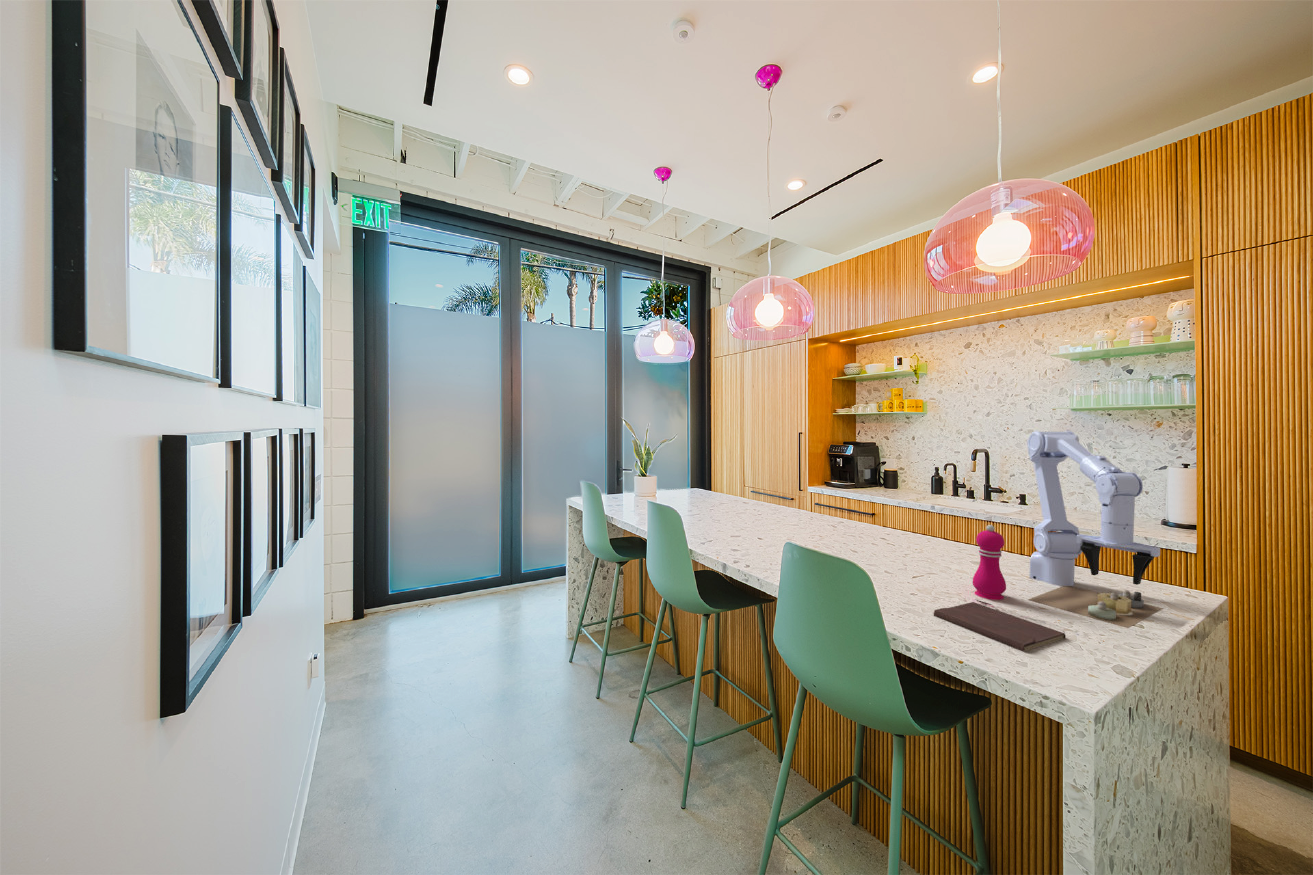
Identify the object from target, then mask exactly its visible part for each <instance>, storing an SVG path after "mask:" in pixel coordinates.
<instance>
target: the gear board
mask: <svg viewBox="0 0 1313 875" xmlns="http://www.w3.org/2000/svg"><path fill="white" fill-rule="evenodd" d="M1100 593H1101V592H1098V591H1093V590H1089V589H1085V588H1081V587H1077V586H1074V585H1073V586H1059V587H1057V588H1055V589H1053V590H1050V591H1046V592H1043V593H1042V594H1039V595H1036V596H1034V597H1031V598H1028V599H1027V601H1029V602H1033V603H1034V602H1035V603H1037V604H1041V605H1045V606H1048V607H1051V608H1055V609H1057V610H1058V609H1059V610H1061V611H1065V612H1068V613H1072V614H1077V615H1079V616H1083V617H1086V618H1090V619H1094V620H1098V621H1101V622H1104V623H1109V624H1112V625H1115V626H1119V627H1123V628H1127V629H1129V628H1131V627H1132V626H1134V625H1136V624H1137V623H1140V622H1141V621H1144V620H1145V619H1147V618H1149V617H1151V616H1152V615H1154V614H1156V613H1158V612H1160V611H1161V610H1163V609H1164V607H1159V606H1156V605H1152V604H1151V605H1150V604H1148V603H1147V604H1146V603H1145V602H1144V600H1143V599H1142V592H1141V591H1140V592H1139V591H1134V594H1133V595H1131V594H1132V593H1131V592H1130V591H1129V590H1128V589H1127V590H1126V589H1124V590H1123V591H1122V593H1117V592H1111V593H1110V594H1111V597H1110V598H1113V599H1119V595H1120V596H1124V597H1126V598H1128V599H1130V600H1131V613H1129V614H1116V611H1115V610H1113V609H1110V608H1107V607H1106V603H1105V602H1103V601H1100V602H1099V603H1098V594H1100ZM1097 605H1098V606H1097Z"/></svg>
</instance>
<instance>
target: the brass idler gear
mask: <svg viewBox="0 0 1313 875" xmlns="http://www.w3.org/2000/svg"><path fill="white" fill-rule="evenodd" d="M1099 593H1100V594H1098V603H1099V602H1100V601H1103V602H1105V603H1106V607H1107V608H1110V609H1113V610H1115V611H1116V614H1129V613H1131V600H1130V599H1128V598H1126V597H1124V596H1120V595H1119V599H1113V598H1110V597H1111V593H1107V592H1099ZM1097 606H1098V605H1097Z"/></svg>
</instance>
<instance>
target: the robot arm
mask: <svg viewBox="0 0 1313 875" xmlns="http://www.w3.org/2000/svg"><path fill="white" fill-rule="evenodd" d="M1026 445H1027V451H1028V455H1029V461H1030V462H1032V465H1033V468H1034V475H1035V480H1036V486H1037V491H1038V497H1039V503H1040V508H1041V514H1042V522H1040V523H1039V524H1037V525H1036V526H1035V527H1034V528H1033V530H1034V531H1033V532H1034V533H1033V534H1034V536H1033V545H1034V548H1035V549H1036V551H1034V552H1033V553H1032V554H1031V556H1030V558H1029V579H1032V580H1035V581H1040V582H1043V583H1047V584H1050V585H1053V586H1059V587H1062V586H1073V587H1074V585H1075V570H1076V568H1075V567H1076V566H1075V565H1076V564H1075V563H1076V559H1078V558H1079V555H1081V554H1082V553H1083V555H1084V557H1085V559H1086V561H1087V563H1088V566H1089V569H1090V574H1091V575H1092V576H1097V575H1099V572H1100V562H1099V561H1100V560H1099V559H1100V552H1101V549H1102V548H1106V549H1107V548H1108V549H1113V550H1118V551H1124V552H1130V553H1135V554H1132V562H1133V563H1132V564H1133V565H1132V566H1133V575H1132V576H1133V577H1132V584H1133V585H1136V586H1137V585H1141V583H1142V578H1143V576H1144V574H1145V572H1146V570H1147V568H1148V566H1150V564H1151V563H1152V561H1153V560H1154V558H1158V557H1160V556H1161V547H1159V546H1153V545H1149V544H1144V543H1140V542H1135V541H1134V536H1135V535H1134V532H1135V528H1134V527H1135V508H1136V507H1135V503H1136V497H1138V496H1140V495H1141V494H1142V492H1143V489H1144V488H1143V486H1144V485H1143V480H1142V479H1141V478H1140V476H1139V475H1138V474H1137V473H1135V472H1131V471H1130V472H1126V471H1123V470H1121V469H1120V467H1118V466H1116V465H1115V464H1113V463H1112V462H1111V461H1109V460H1108V458H1107V457H1106V456H1105V455H1098V454H1093V453H1091V452H1090V451H1089V450H1088V449H1087V448H1086V447H1085V446H1083V444H1081V443H1080V437H1079V435H1077V434H1075V433H1074V432H1073V431H1071V430H1066V431H1041V430H1040V431H1039V430H1034V431H1033V432H1031V433H1030V435H1029V437H1028V439H1027V441H1026ZM1068 458H1070V459H1071V460H1073V461H1074V462H1075V463H1077V464H1078V465H1079V470H1080V472H1081V473H1082V474H1083V475H1084V476H1086V477H1087V478H1088V479H1089V480H1090V481H1092V482H1093V483H1094V488H1095V490H1096V492H1097V494H1098V502H1099V503H1101V506H1100V507H1101V508H1100V510H1101V512H1100V536H1096V535H1095V536H1094V535H1089V534H1080V530H1079V528H1078V526H1076V525H1075V524H1073V523H1072V522H1070V521H1069V520H1068V517H1067V513H1066V507H1065V503H1064V497H1063V493H1062V486H1061V482H1060V477H1059V472H1058V465H1059V463H1062V462H1064V461H1065V460H1067V459H1068Z"/></svg>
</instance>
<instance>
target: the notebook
mask: <svg viewBox="0 0 1313 875" xmlns="http://www.w3.org/2000/svg"><path fill="white" fill-rule="evenodd" d="M933 616H934V617H936V618H938V619H941V620H943V621H945V622H948V623H951V624H954V625H956V626H958V627H961V628H963V629H966V630H968V631H970V632H974V633H976V634H977V635H981V636H982V637H986V638H989V639H991V640H993V641H995V642H998V643H1001V644H1003V645H1006V646H1008V647H1011V648H1013V649H1014V650H1015V649H1016V650H1018V651H1021V652H1023V653H1024V652H1026V651H1027V652H1028V651H1029V650H1033V649H1035V648H1038V647H1041V646H1045V645H1048V644H1050V643H1055V642H1057V641H1058V642H1059V641H1060V640H1064V639H1066V633H1065V632H1062V631H1059V630H1056V629H1053V628H1050V627H1047V626H1045V625H1042V624H1039V623H1036V622H1033V621H1029V620H1027V619H1024V618H1021V617H1018V616H1015V615H1012V614H1009V613H1008V612H1007V613H1006V612H1004V611H1001V610H998V609H996V608H992V607H989V606H986V605H984V604H982V603H981V604H980V603H979V602H974V601H971V602H966V603H963V604H959V605H955V606H951V607H942V608H937V609H934V611H933Z"/></svg>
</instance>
